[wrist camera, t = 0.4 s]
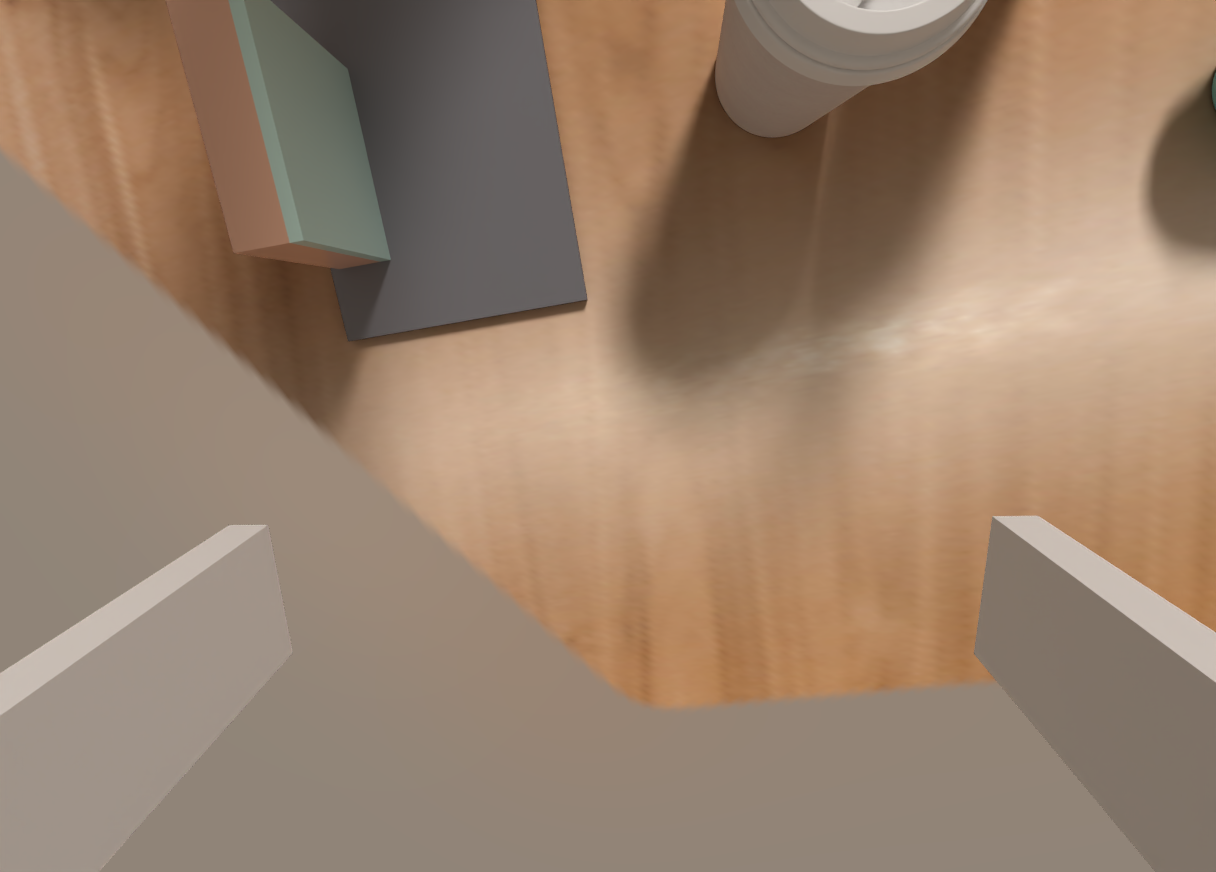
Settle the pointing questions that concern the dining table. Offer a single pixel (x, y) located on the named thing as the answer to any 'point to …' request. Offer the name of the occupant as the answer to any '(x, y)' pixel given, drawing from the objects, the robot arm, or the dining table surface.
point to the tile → (279, 135)
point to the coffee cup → (824, 53)
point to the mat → (452, 160)
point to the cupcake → (1214, 91)
